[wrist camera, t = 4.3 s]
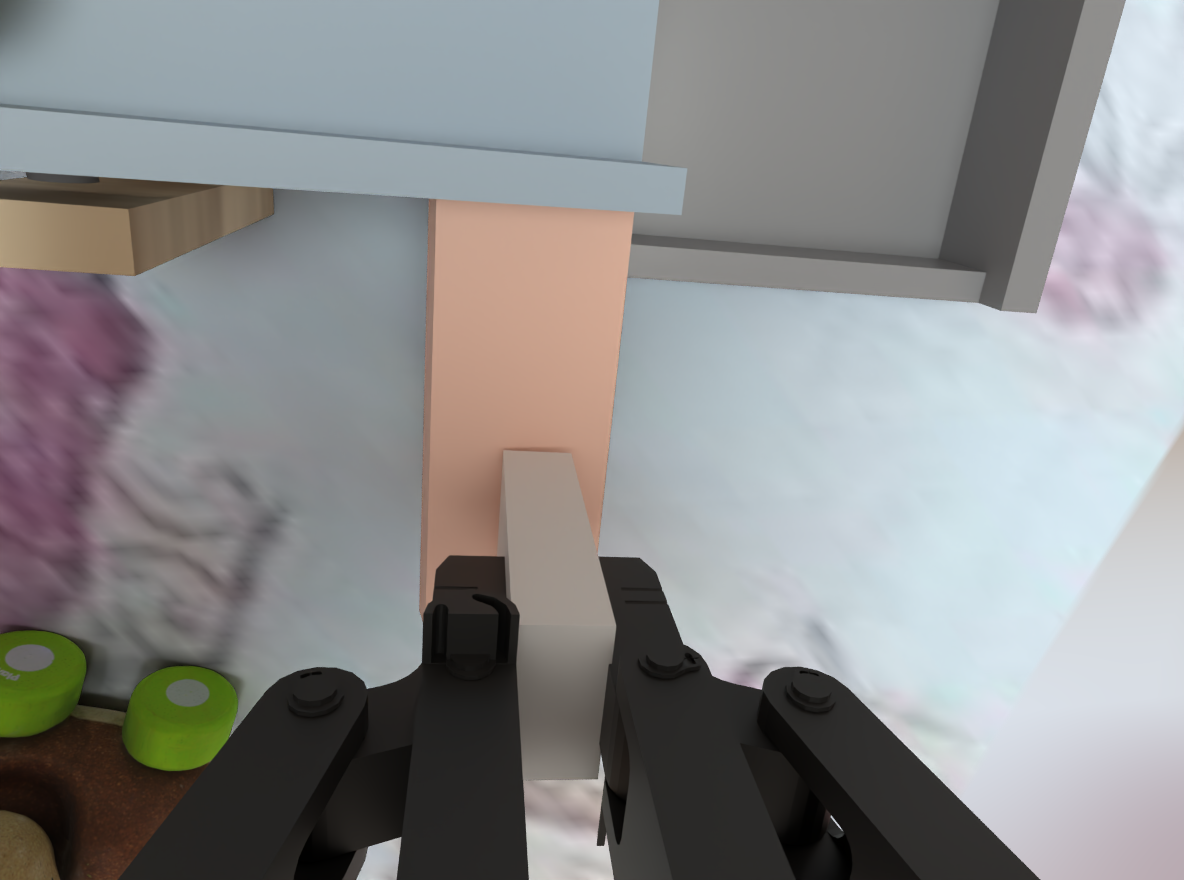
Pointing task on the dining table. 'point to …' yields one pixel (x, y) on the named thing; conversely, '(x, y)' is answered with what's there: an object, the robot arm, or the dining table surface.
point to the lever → (396, 180)
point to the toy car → (95, 758)
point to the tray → (871, 143)
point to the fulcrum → (118, 222)
